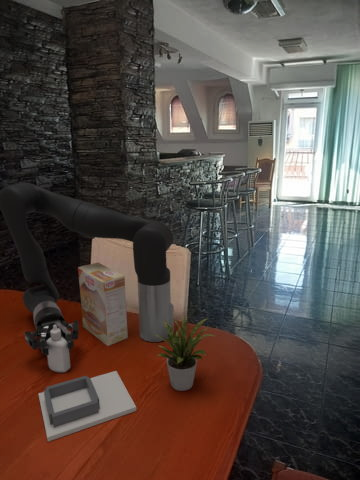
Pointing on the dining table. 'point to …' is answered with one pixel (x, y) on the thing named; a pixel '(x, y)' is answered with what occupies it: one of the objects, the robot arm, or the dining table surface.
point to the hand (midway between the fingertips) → (58, 348)
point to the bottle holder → (83, 403)
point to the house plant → (182, 355)
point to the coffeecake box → (103, 302)
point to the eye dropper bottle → (58, 351)
